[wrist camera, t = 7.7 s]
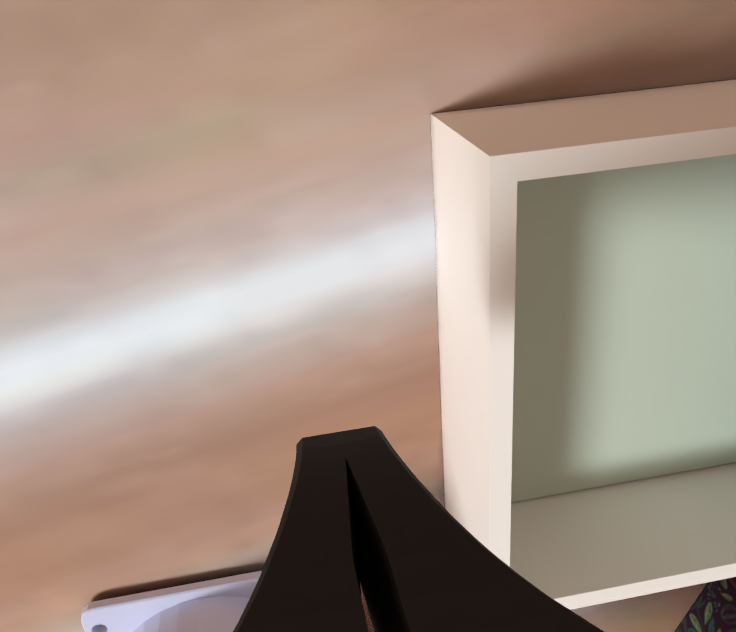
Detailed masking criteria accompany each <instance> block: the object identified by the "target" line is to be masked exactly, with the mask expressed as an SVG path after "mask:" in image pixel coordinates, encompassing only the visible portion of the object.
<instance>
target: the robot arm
mask: <svg viewBox="0 0 736 632" xmlns="http://www.w3.org/2000/svg"><path fill="white" fill-rule="evenodd" d="M360 583H361V586H362V590H363V593H364V597H365V600H366V604H367V607H368V611H369V614H370V617H371V621H372V624H373V628H374V631H375V632H604V631H602V630H600V629H599V628H597V627H596V626H594V625H593V624H591V623H589V622H588V621H586V620H585V619H583V618H582V617H580V616H579V615H577V614H575V613H574V612H572V611H571V610H569V609H568V608H566V607H565V606H563V605H562V604H560V603H558V602H557V601H555V600H554V599H552V598H551V597H549V596H548V595H546V594H545V593H544V592H542V591H541V590H540V589H538V588H537V587H535V586H534V585H533V584H531V583H530V582H529V581H527V580H526V579H525V578H523V577H522V576H521V575H519V574H518V573H517V572H515V571H514V570H513V569H512V568H510V567H509V566H508V565H507V564H505V563H504V562H503V561H502V560H500V559H499V558H498V557H497V556H496V555H494V554H493V553H492V552H491V551H490V550H489V549H487V548H486V547H485V546H484V545H483V544H482V543H481V542H479V541H478V540H477V539H476V538H475V537H474V536H473V535H472V534H471V533H470V532H469V531H467V530H466V529H465V528H464V527H463V526H462V525H461V524H460V523H459V522H458V521H457V520H456V519H455V518H454V517H453V516H452V515H451V514H450V513H449V512H448V511H447V510H446V509H445V508H444V507H443V506H442V505H441V504H440V503H439V502H438V501H437V500H436V499H435V497H434V496H433V495H432V494H431V493H430V492H429V491H428V490H427V489H426V488H425V487H424V486H423V484H422V483H421V482H420V481H419V480H418V479H417V478H416V476H415V475H414V474H413V473H412V472H411V470H410V469H409V468H408V467H407V466H406V464H405V463H404V462H403V461H402V459H401V458H400V457H399V455H398V454H397V453H396V452H395V450H394V449H393V447H392V446H391V445H390V443H389V442H388V440H387V439H386V437H385V436H384V434H383V433H382V431H381V430H379V429H378V428H377V427H375V426H373V427H366V428H360V429H354V430H348V431H342V432H336V433H330V434H324V435H317V436H311V437H305V438H302V439H301V440H300V441H299V442H298V444H297V453H296V462H295V469H294V474H293V479H292V483H291V487H290V491H289V495H288V499H287V502H286V505H285V508H284V512H283V515H282V518H281V522H280V525H279V528H278V531H277V534H276V536H275V539H274V542H273V544H272V547H271V549H270V552H269V554H268V557H267V560H266V562H265V565H264V567H263V570H262V571H257V572H251V573H246V574H240V575H235V576H229V577H224V578H219V579H213V580H208V581H202V582H197V583H191V584H186V585H180V586H175V587H170V588H164V589H159V590H153V591H148V592H142V593H137V594H131V595H126V596H120V597H115V598H110V599H104V600H99V601H94V602H91V603H88V604H87V605H86V606H85V607H84V609H83V611H82V615H81V622H82V625H83V627H84V630H85V632H368V628H367V623H366V619H365V614H364V610H363V605H362V600H361V588H360ZM98 624H102V625H104V626H99V625H98Z"/></svg>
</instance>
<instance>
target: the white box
mask: <svg viewBox="0 0 736 632" xmlns="http://www.w3.org/2000/svg"><path fill="white" fill-rule="evenodd" d="M431 140H432V167H433V195H434V222H435V249H436V277H437V304H438V331H439V359H440V386H441V414H442V441H443V468H444V496H445V509H446V510H447V511H448V512H449V513H450V514H451V515H452V516H453V517H454V518H455V519H456V520H457V521H458V522H459V523H460V524H461V525H462V526H463V527H464V528H465V529H466V530H467V531H469V532H470V533H471V534H472V535H473V536H474V537H475V538H476V539H477V540H478V541H479V542H481V543H482V544H483V545H484V546H485V547H486V548H487V549H489V550H490V551H491V552H492V553H493V554H494V555H496V556H497V557H498V558H499V559H500V560H502V561H503V562H504V563H505V564H507V565H508V566H509V567H510V568H512V569H513V570H514V571H515V572H517V573H518V574H519V575H521V576H522V577H523V578H525V579H526V580H527V581H529V582H530V583H531V584H533V585H534V586H535V587H537V588H538V589H540V590H541V591H542V592H544V593H545V594H546V595H548V596H549V597H551V598H552V599H554V600H555V601H557V602H558V603H560V604H562V605H563V606H565V607H566V608H568V609H569V610H572V609H577V608H582V607H587V606H592V605H597V604H602V603H607V602H612V601H617V600H622V599H627V598H632V597H637V596H642V595H647V594H652V593H657V592H662V591H667V590H672V589H677V588H682V587H687V586H692V585H697V584H702V583H707V582H712V581H717V580H722V579H727V578H732V577H736V79H735V80H726V81H717V82H708V83H699V84H690V85H682V86H673V87H664V88H655V89H646V90H637V91H628V92H620V93H611V94H602V95H593V96H584V97H575V98H566V99H558V100H549V101H540V102H531V103H522V104H513V105H504V106H496V107H487V108H478V109H469V110H460V111H451V112H442V113H434V114H431Z"/></svg>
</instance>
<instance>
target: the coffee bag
mask: <svg viewBox="0 0 736 632" xmlns="http://www.w3.org/2000/svg"><path fill="white" fill-rule="evenodd" d="M675 632H736V577H732V578H727V579H722V580H717V581H712V582H708V584H707V585H706V587H705V588H704V590H703V591H702V593H701V594H700V596H699V597H698V599H697V600H696V601H695V603H694V604H693V606H692V607H691V609H690V610H689V612H688V613H687V615H686V616H685V618H684V619H683V621H682V622H681V623H680V625H679V626H678V628H677V629H676V631H675Z"/></svg>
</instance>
